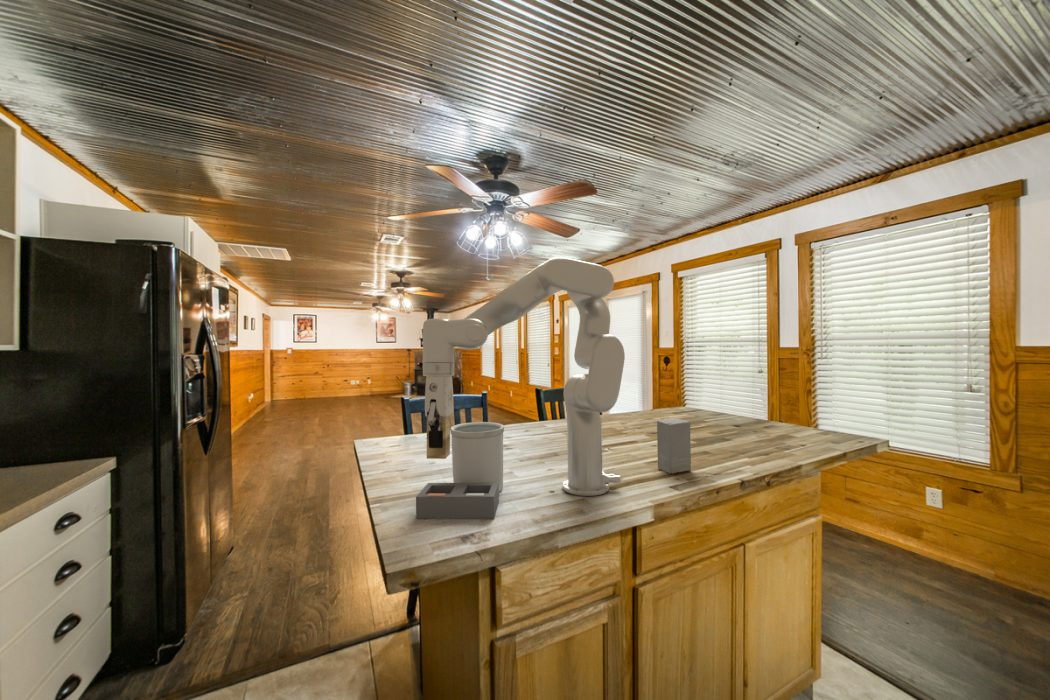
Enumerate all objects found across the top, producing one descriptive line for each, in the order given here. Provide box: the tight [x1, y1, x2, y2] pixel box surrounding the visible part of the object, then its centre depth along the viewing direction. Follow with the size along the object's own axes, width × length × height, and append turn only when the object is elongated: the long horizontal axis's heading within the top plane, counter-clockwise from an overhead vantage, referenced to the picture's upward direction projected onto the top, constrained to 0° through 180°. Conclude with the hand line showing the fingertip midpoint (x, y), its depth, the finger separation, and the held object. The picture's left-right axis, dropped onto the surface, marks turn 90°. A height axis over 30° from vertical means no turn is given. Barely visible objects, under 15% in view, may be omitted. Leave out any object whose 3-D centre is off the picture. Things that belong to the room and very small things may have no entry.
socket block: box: [415, 482, 500, 520], centre depth 95 cm, size 18×10×5 cm, turn 88°
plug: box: [426, 415, 451, 460], centre depth 96 cm, size 4×4×10 cm
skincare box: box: [656, 418, 692, 474], centre depth 125 cm, size 8×7×16 cm
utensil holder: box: [450, 421, 505, 493], centre depth 110 cm, size 15×15×18 cm
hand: (438, 444), depth 96 cm, fingers closed on plug, 4 cm apart
